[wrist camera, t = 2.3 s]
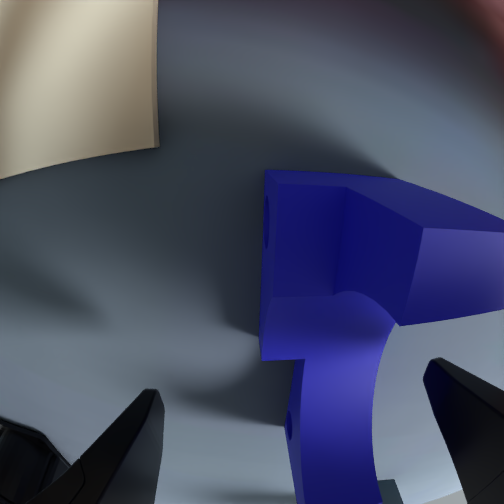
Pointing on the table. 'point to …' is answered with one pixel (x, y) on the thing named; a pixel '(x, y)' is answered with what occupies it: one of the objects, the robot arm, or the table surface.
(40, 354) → the table surface
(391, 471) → the table surface
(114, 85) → the pad
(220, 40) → the table surface
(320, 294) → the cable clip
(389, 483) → the watch
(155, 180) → the table surface
